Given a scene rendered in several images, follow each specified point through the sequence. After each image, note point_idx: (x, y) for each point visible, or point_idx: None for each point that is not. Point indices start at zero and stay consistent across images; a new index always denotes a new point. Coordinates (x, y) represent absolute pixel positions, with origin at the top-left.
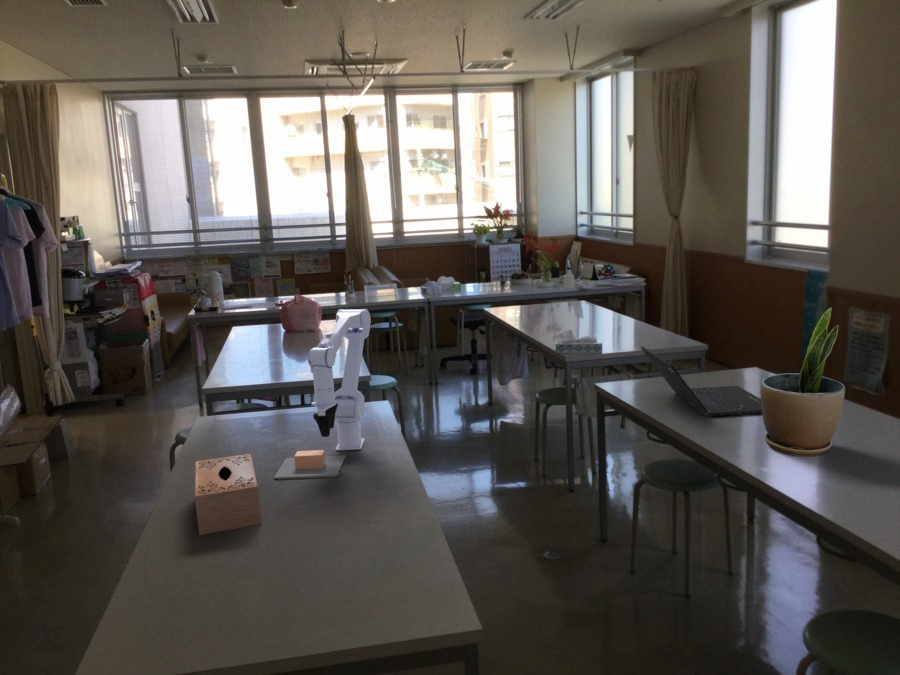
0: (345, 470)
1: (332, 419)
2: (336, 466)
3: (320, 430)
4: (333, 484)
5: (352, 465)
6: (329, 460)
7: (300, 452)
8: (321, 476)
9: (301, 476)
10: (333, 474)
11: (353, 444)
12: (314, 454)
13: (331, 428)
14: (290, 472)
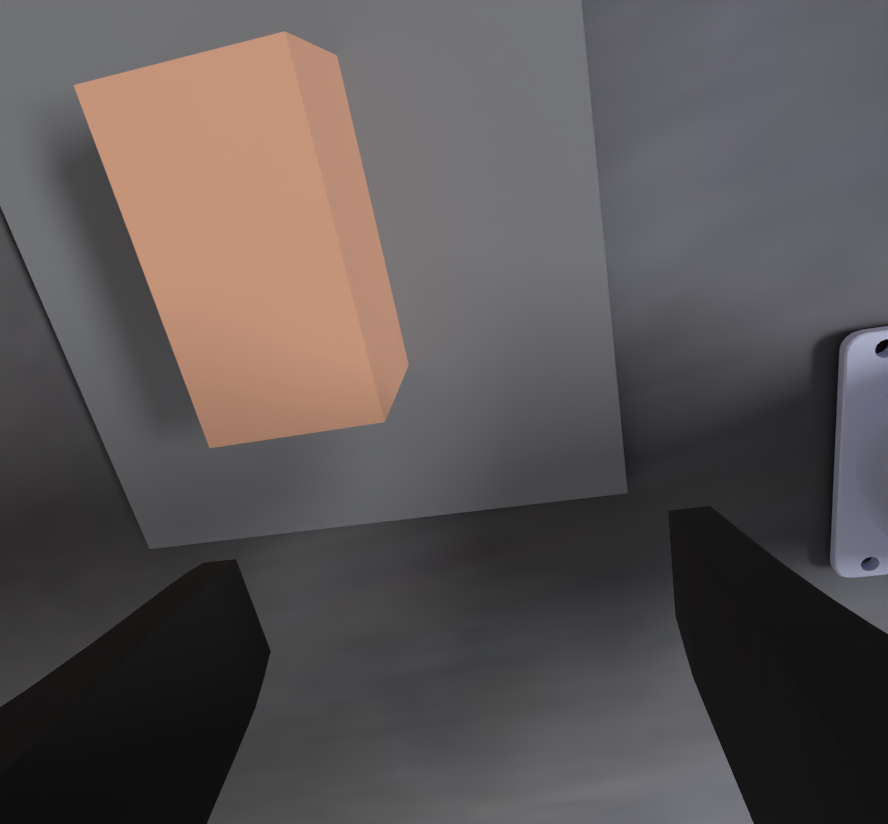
0: (301, 560)
1: (743, 770)
2: (325, 494)
3: (112, 642)
4: (19, 549)
5: (417, 584)
6: (475, 384)
7: (241, 115)
8: (102, 428)
9: (22, 252)
10: (147, 520)
11: (884, 532)
12: (205, 355)
13: (676, 591)
14: (73, 74)
